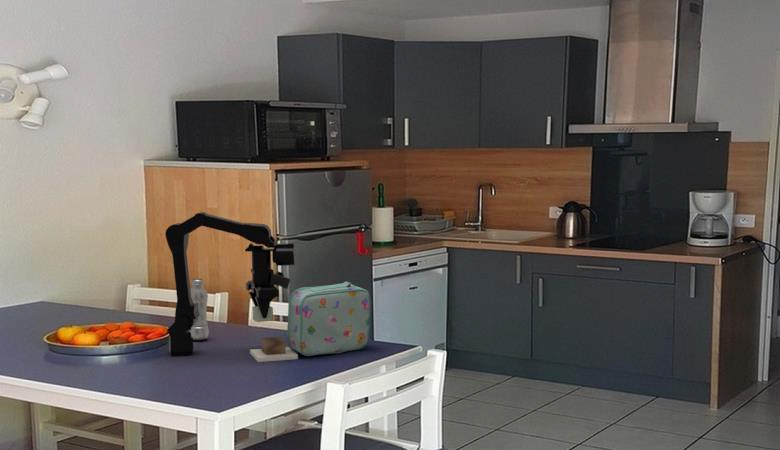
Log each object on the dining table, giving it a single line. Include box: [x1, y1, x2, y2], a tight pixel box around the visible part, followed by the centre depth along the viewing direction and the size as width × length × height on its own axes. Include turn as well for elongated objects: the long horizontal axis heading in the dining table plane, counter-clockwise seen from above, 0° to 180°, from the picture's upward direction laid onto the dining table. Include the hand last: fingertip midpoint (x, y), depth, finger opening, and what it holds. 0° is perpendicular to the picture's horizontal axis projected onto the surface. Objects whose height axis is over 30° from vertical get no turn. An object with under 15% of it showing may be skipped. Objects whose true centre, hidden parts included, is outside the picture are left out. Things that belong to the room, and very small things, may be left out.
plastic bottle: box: [189, 278, 210, 341], centre depth 300 cm, size 6×7×20 cm
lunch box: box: [286, 281, 372, 357], centre depth 284 cm, size 27×10×21 cm, turn 126°
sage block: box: [252, 305, 274, 323], centre depth 281 cm, size 5×5×4 cm
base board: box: [249, 346, 299, 363], centre depth 278 cm, size 12×12×1 cm
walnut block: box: [261, 336, 287, 355], centre depth 278 cm, size 6×6×4 cm
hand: (262, 316), depth 281 cm, fingers closed on sage block, 5 cm apart
